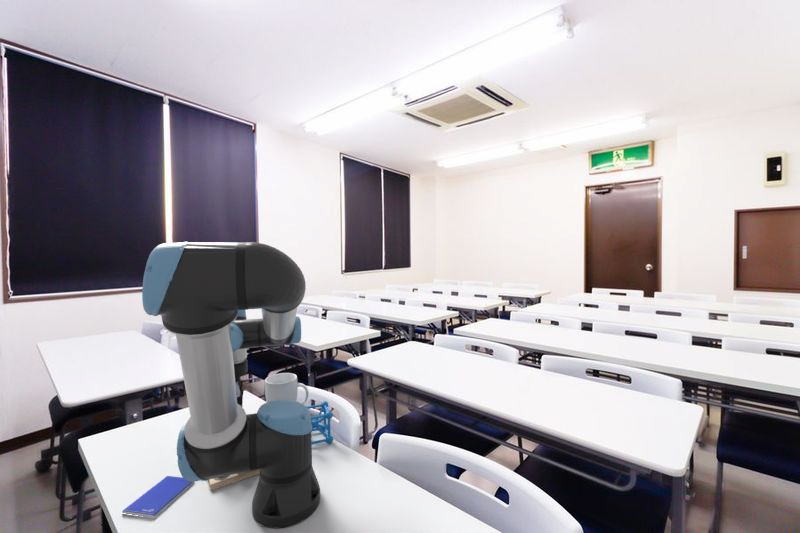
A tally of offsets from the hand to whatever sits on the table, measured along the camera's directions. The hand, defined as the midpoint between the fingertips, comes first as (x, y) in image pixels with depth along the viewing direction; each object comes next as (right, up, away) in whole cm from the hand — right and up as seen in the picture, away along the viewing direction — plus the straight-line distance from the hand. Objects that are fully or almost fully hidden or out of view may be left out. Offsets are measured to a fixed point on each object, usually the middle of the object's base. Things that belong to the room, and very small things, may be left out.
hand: (235, 440), depth 104 cm
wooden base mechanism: (-1, -4, -3) cm, 5 cm away
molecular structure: (+21, -4, +7) cm, 23 cm away
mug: (+6, -3, +25) cm, 26 cm away
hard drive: (-10, -6, -18) cm, 21 cm away
